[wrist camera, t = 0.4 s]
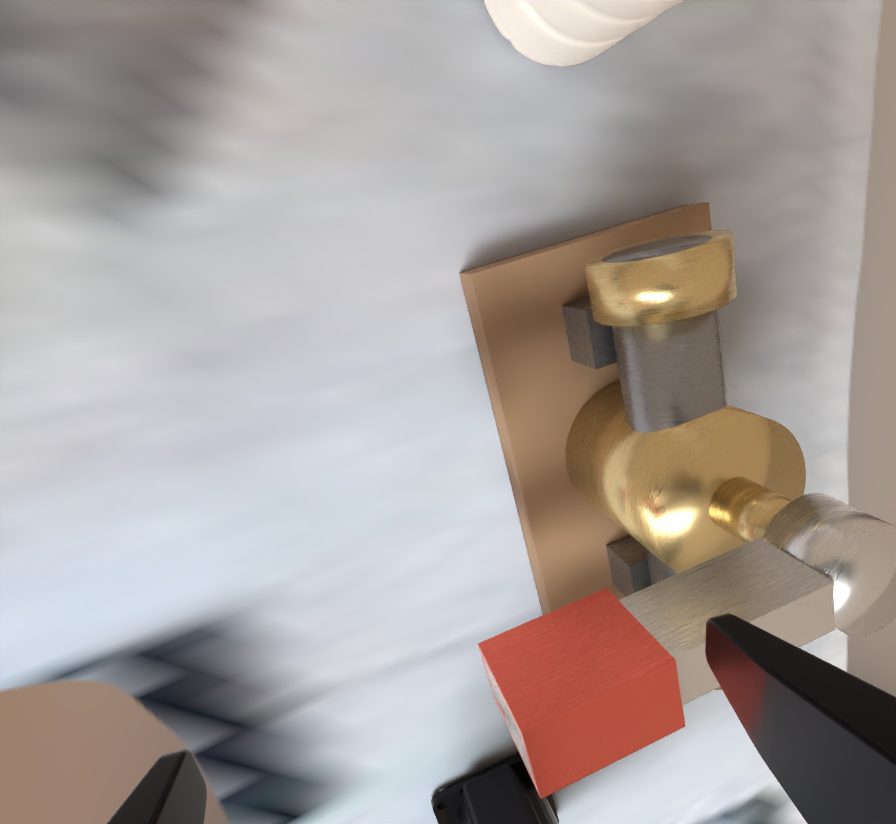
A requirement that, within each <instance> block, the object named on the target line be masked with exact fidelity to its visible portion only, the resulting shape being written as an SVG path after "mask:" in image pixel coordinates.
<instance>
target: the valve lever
mask: <svg viewBox="0 0 896 824" xmlns="http://www.w3.org/2000/svg"><path fill="white" fill-rule="evenodd" d="M723 614H733V615H735V616H737V617H739V618H741V619H743V620H745V621H747V622H749V623H751V624H753V625H755V626H757V627H759V628H761V629H763V630H765V631H767V632H769V633H771V634H773V635H775V636H777V637H779V638H780V639H782V640H784V641H786V642H788V643H790V644H792V645H794V646H796V647H798V648H799V647H801V646H803V645H805V644H807V643H809V642H811V641H813V640H815V639H817V638H819V637H821V636H823V635H825V634H827V633H829V632H831V631H833V630H835V627H836V628H837V629H839V630H840V631H842V632H843V633H845V634H848V635H851V636H863V635H868V634H871V633H874V632H876V631H878V630H880V629H882V628H884V627H885V626H886V625H888V624H889V623H891V622H892V621H893V620H894V619H895V618H896V526H894V525H892V524H890V523H887V522H885V521H883V520H880V519H878V518H876V517H874V516H872V515H870V514H867V513H865V512H863V511H861V510H858V509H856V508H854V507H852V506H849V505H847V504H845V503H843V502H841V501H838V500H836V499H834V498H832V497H829V496H827V495H824V494H819V493H813V494H807V495H804V496H801V497H798V498H796V499H795V500H793V501H791V502H790V503H788V504H787V505H786V506H785V507H783V508H782V509H781V510H780V511H779V512H778V513H777V514H776V516H775V517H774V518H773V519H772V521H771V522H770V523H769V525H768V527H767V529H766V530H765V533H764V535H763V537H762V538H757V539H755V540H753V541H751V542H748V543H746V544H744V545H742V546H739V547H737V548H735V549H733V550H730V551H728V552H726V553H724V554H721V555H719V556H717V557H715V558H712V559H710V560H708V561H705V562H703V563H701V564H699V565H696V566H694V567H692V568H690V569H687V570H685V571H683V572H681V573H678V574H676V575H674V576H672V577H669V578H667V579H665V580H663V581H660V582H658V583H656V584H654V585H651V586H649V587H647V588H645V589H642V590H640V591H638V592H636V593H633V594H631V595H629V596H627V597H624V598H622V599H620V600H618V599H617V598H616V597H615V596H614V595H613V594H612V593H611V592H610V591H609V590H608V589H607V588H605V589H602V590H600V591H598V592H595V593H593V594H591V595H589V596H586V597H584V598H582V599H579V600H577V601H575V602H572V603H570V604H568V605H566V606H563V607H561V608H559V609H556V610H554V611H552V612H550V613H547V614H545V615H543V616H540V617H538V618H536V619H534V620H531V621H529V622H527V623H524V624H522V625H520V626H517V627H515V628H513V629H511V630H508V631H506V632H504V633H501V634H499V635H497V636H495V637H492V638H490V639H488V640H485V641H483V642H481V643H479V644H478V646H479V649H480V652H481V656H482V659H483V662H484V666H485V669H486V672H487V676H488V679H489V682H490V685H491V689H492V692H493V695H494V699H495V702H496V704H497V706H498V709H499V711H500V713H501V715H502V717H503V719H504V721H505V723H506V726H507V728H508V730H509V732H510V734H511V736H512V738H513V741H514V743H515V745H516V747H517V749H518V751H519V753H520V756H521V758H522V760H523V762H524V764H525V766H526V768H527V770H528V773H529V775H530V777H531V779H532V781H533V783H534V785H535V788H536V790H537V792H538V794H539V796H540V798H541V799H542V798H544V797H546V796H548V795H550V794H552V793H554V792H556V791H558V790H560V789H562V788H564V787H566V786H568V785H570V784H572V783H574V782H576V781H578V780H580V779H582V778H584V777H586V776H588V775H590V774H592V773H594V772H596V771H598V770H600V769H602V768H604V767H606V766H608V765H610V764H612V763H614V762H616V761H618V760H620V759H622V758H624V757H626V756H628V755H629V754H631V753H633V752H635V751H637V750H639V749H641V748H643V747H645V746H647V745H649V744H651V743H653V742H655V741H657V740H659V739H661V738H663V737H665V736H667V735H669V734H671V733H673V732H675V731H677V730H679V729H681V728H683V727H685V721H684V715H683V708H682V705H684V704H686V703H688V702H690V701H692V700H694V699H696V698H698V697H700V696H702V695H704V694H706V693H708V692H710V691H712V690H714V689H716V688H718V687H720V684H719V683H718V681H717V679H716V677H715V676H714V674H713V672H712V670H711V669H710V667H709V664H708V662H707V659H706V654H705V642H706V622H707V620H708V619H709V618H711V617H715V616H719V615H723Z"/></svg>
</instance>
